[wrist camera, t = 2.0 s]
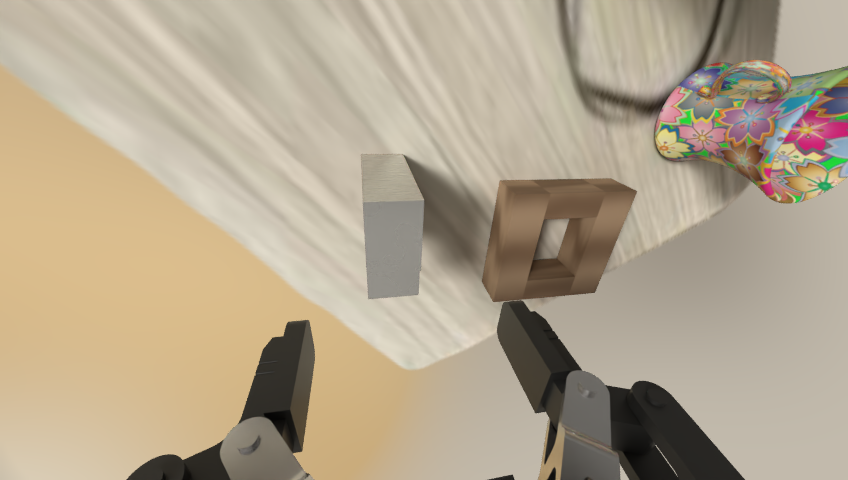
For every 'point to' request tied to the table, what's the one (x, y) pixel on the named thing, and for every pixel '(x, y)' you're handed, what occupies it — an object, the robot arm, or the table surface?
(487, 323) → the table surface
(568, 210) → the well block
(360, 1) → the table surface
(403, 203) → the grey rectangular block
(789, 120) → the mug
